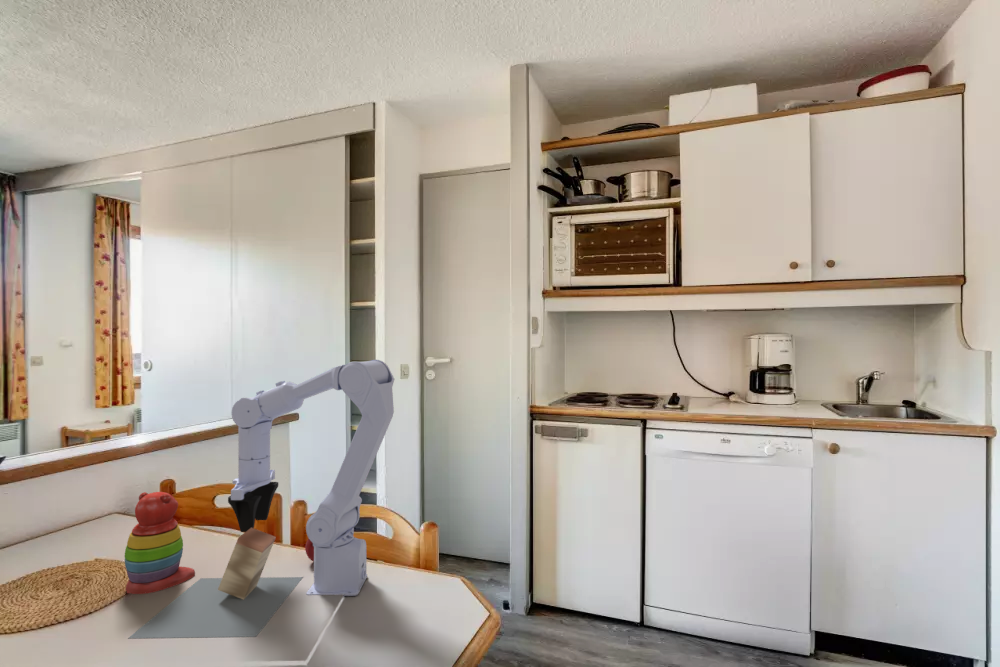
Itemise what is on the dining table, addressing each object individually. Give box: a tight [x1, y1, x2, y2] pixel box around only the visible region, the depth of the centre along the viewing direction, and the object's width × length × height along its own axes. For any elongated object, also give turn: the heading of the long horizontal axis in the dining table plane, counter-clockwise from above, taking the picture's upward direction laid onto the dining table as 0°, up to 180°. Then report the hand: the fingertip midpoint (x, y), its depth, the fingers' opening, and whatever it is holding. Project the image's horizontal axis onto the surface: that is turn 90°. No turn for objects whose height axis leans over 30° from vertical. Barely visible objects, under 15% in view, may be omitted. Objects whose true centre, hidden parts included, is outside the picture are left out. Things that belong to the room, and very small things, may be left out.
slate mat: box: [127, 576, 304, 640], centre depth 90 cm, size 20×20×1 cm
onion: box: [304, 537, 314, 563], centre depth 107 cm, size 6×6×8 cm
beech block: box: [218, 527, 277, 600], centre depth 94 cm, size 5×5×10 cm
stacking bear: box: [124, 491, 196, 595], centre depth 99 cm, size 11×10×18 cm
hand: (254, 525), depth 101 cm, fingers open, 6 cm apart
